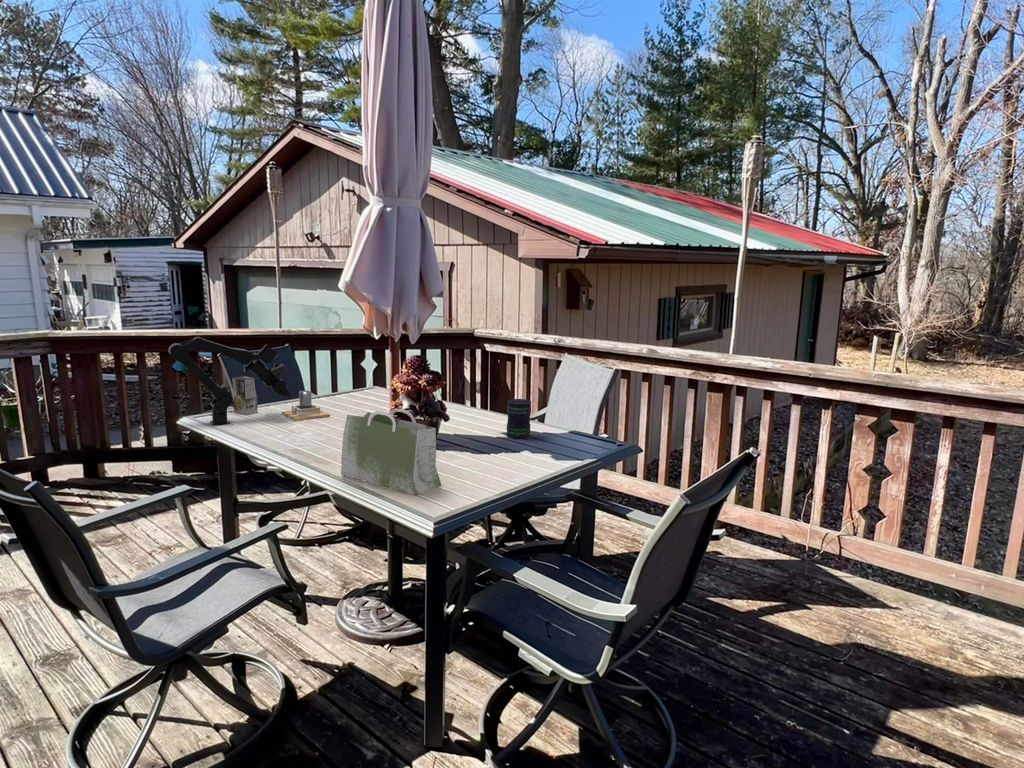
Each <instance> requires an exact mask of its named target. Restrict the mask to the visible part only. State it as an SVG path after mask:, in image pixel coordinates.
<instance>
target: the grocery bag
mask: <svg viewBox="0 0 1024 768" xmlns="http://www.w3.org/2000/svg"><path fill="white" fill-rule="evenodd" d="M396 412H397V413H398V412H399V413H403V414H406V415H407V416H409V418H410V419H411V421H407V420H401V419H398V418H395V417H393V413H396ZM342 434H343V436H342V449H341V459H340V460H341V461H340V462H341V465H340V467H341V471H340V472H341V473H340V474H341V475H345V476H349V477H348V478H350V477H353V478H352V479H355V478H358V479H357V480H359V479H361V480H360V481H363V480H365V481H364V482H366V481H368V482H367V483H369V482H371V483H370V484H372V483H375V484H378V485H380V486H379V487H381V486H383V487H382V488H384V487H386V488H385V489H387V488H388V490H391V489H392V490H391V491H395V492H399V493H402V494H408V495H412V496H417V495H418V496H420V495H422V494H424V493H426V492H429V491H431V490H433V489H435V488H438V487H441V486H442V483H441V480H440V476H439V473H438V470H437V466H436V463H437V427H432V426H429V425H424V424H421V423H417V422H416V419H415V417H414V415H413V414H412V413H411V412H409V411H408V410H406V409H402V408H394V409H391V410H390V411H389V412H386V411H381V410H376V411H373V412H366V413H365V414H364V415H363V416H362V415H353V414H346V421H345V425H344V429H343V433H342ZM341 475H340V476H341ZM345 476H344V477H345ZM375 484H374V485H375ZM378 485H377V486H378Z"/></svg>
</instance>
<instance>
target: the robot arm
mask: <svg viewBox="0 0 1024 768" xmlns="http://www.w3.org/2000/svg"><path fill="white" fill-rule="evenodd" d="M198 348H201V349H203V350H206V351H211V352H214V353H217V354H219V355H223V356H226V357H229V358H230V359H233V360H234V361H236V362H238V363H240V364H242V367H243V372H244V373H246V374H247V373H248V372H249V371H250V372H251V373H252V374H253V375H254V376H255V377H256V378H258V379H259V380H260V381H261V382H262V383H263V385H264V386H266V388H268V389H270V390H271V391H272V392H273V393H275V394H277V395H280V396H284V397H286V398H290V399H291V398H292V396H293V395H292V393H291V392H290V391H289V390H288V388H287V386H286V385H287V382H286V380H284V379H283V378H280V377H279V376H280V375H283V374H285V373H287V372H288V369H287V367H286V365H285V364H283V363H280V364H279V363H278V362H275V363H274V364H273V367H272V368H271V369H270V368H269V367H267V366H266V365H271V363H272V362H273V361H274V360H275V359H276V358H277V357H278V356H279V353H278V352H277V351H276V350H274V349H273V348H272V347H270V346H269V345H268V344H264V346H263V347H262V348H261V349H260V350H259V351H258V352H250V351H249V350H247V349H244V348H238V347H230V346H227V345H223V344H220V343H219V342H218V343H216V342H215V341H211V340H208V339H206V338H202V337H200V336H195V337H193V338H191V339H188V340H185V341H182V342H179V343H177V342H174V343H172V344H171V345H170V346H169V347H168V353H169V355H170V356H171V358H173V360H176V362H178V363H180V364H181V365H183V366H185V367H186V368H187V370H188V371H190V373H192V374H193V375H194V376H195V377H196V378H197V379H198V380H199V381H200V382H201V383H202V384H203V385H204V386H205V388H207V389H208V390H209V392H210V393H211V395H212V396H213V398H214V399H212V401H210V403H209V404H210V405H211V408H212V409H211V417H212V420H210V421H209V422H210V424H211V425H213V426H219V425H229V424H231V422H230V421H229V420H228V408H229V406H230V405H232V403H233V401H234V397H233V396H232V395H233V392H231V391H230V390H229V389H227V388H226V386H225V385H224V384H221V386H220V385H218V384H217V383H216V382H215V381H214V380H213V379H212V378H211V377H210V376H209V375H208V374H207V372H205V371H204V370H203V369H202V368H201V367H200V366H199V364H197V363H196V362H195V361H194V360H193V358H192V357H191V354H190V352H191V353H192V352H193V351H195V350H197V349H198ZM262 362H263V363H262Z"/></svg>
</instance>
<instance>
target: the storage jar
mask: <svg viewBox="0 0 1024 768" xmlns="http://www.w3.org/2000/svg"><path fill="white" fill-rule="evenodd" d="M506 409H507V411H506V413H507V423H506V438H508V439H510V438H512V439H511V440H518V439H522V440H527V439H526V438H528V439H529V437H530V435H531V414H532V400H530V399H523V398H511V399H508V400H507V408H506Z"/></svg>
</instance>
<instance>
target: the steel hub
mask: <svg viewBox="0 0 1024 768" xmlns="http://www.w3.org/2000/svg"><path fill="white" fill-rule="evenodd" d="M298 396H299V397H298V398H299V399H298V401H299V402H298V403H299V404H298V405H300V409H307V408H312V404H313V402H312V390H299V392H298Z"/></svg>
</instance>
